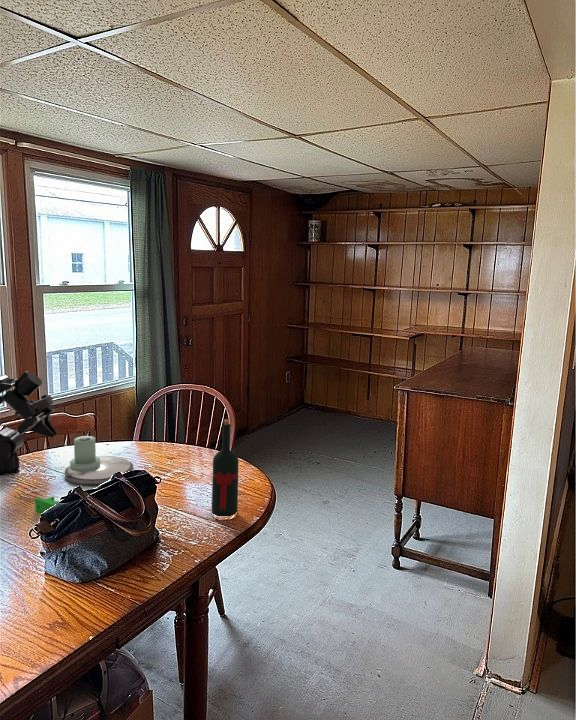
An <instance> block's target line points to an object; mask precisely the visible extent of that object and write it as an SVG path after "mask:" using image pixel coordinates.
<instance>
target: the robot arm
mask: <svg viewBox="0 0 576 720" xmlns="http://www.w3.org/2000/svg"><path fill="white" fill-rule="evenodd" d="M41 385H43V381H42V379H41V378H40V377H39V376H38V375H36V374H34V373H31V372H30V371H28V370H26V371H24V372H23V373H22V374H21V375H20V377H18V378H10V377H9V376H7V374H0V394H1V395H0V405H2V404H3V403H6V404H7V405H8V406H9V407H10V408H11V409H12V410H13V411H14V412H15V413H14V415H15V416H19V417H21V418H22V419H23V421H22V422H21V423H19V425H18V426H16V429H15V430H14V429H11V428H10V427H7V426H6V427H4V428H3V429H2V430H0V476H3V475H9V474H14V473H19V472H20V468H21V467H20V457H19V456H18V453H17V452H18V451H19V450H20V447H22V446H23V444H24V441H25V440H24V437H23V435H24V433H26V432H27V430H28V429H29V428H30V429H29V430H28V432H32V433H35V434H40V435H43V436H46V437H49V438H54V437H55V436H56V435H57V434H58V433H57V431H56V429H55V428H54V426H53V423H52V421H51V420H50V419H51V414H52V412H53V411H54V410H55V407H54V406H53V405H54V404H55V403H54V402H53V399H54V398H53V396H51V395H50V394H48V393H45V394H42V395H41V396H40V397H41V398H40V399H38V400H35V399H32V398H31V399H29V398H28V397H29V396H31V395H32V394H33V393H35V391H37V390H38V389H39V387H41ZM2 393H5V394H2Z"/></svg>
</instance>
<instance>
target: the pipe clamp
mask: <svg viewBox="0 0 576 720" xmlns="http://www.w3.org/2000/svg"><path fill="white" fill-rule="evenodd" d="M59 501H60V500H55V496H49V497H48V498H45V499H44V498H41V497H36V498H34V508H35V511H34V512H35V513H36V512H37V514H39V513H40V515H42V514H41V513H43V512H44V511H45V510H47V509H49V508H50V507H52V506H54V505H55V504H57V503H58V502H59Z"/></svg>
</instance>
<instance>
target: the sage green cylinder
mask: <svg viewBox="0 0 576 720" xmlns="http://www.w3.org/2000/svg"><path fill="white" fill-rule="evenodd" d="M73 448H74V450H73V453H74V458H72V459H71V460H70V461H69V466H70V468H71V469H72V470H74V471H90V470H94V469H96V468H98V467H99V466H100V458H99V457H96V456H97V454H96V450H97V449H96V437H95V436H91V435H83V436H82V435H81V436H77V437H76V438H74V439H73Z"/></svg>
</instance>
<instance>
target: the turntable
mask: <svg viewBox="0 0 576 720" xmlns="http://www.w3.org/2000/svg"><path fill="white" fill-rule="evenodd" d="M96 457H99V458H100V466H99V467H98V468H96V469H94V470H90V471H74V470H72V469H71V468H70V465H69V466H67V467H66V468H65V470H64V478H65V480H66V482H68V483H70V484H72V485H76V486H80V485H82V486H81V487H99V486H98V485H100V484H102V483H104V482H106V481H108V480H109V479H110V478H111V476H112V475H113V474H114V473H116V472H122V473H125V472H128V471H132V470H133V471H134V464H133V463H132V461H129V460H128V459H127V458H124V457H120V456H115V455H96Z"/></svg>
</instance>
